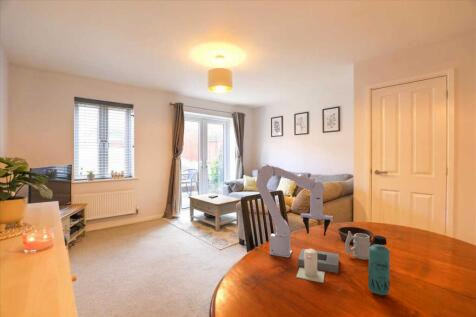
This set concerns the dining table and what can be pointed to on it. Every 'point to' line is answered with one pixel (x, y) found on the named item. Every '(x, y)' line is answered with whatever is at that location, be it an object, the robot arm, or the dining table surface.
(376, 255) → the beverage bottle
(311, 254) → the cream strapped capsule
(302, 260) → the holder
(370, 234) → the dish
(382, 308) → the dining table surface
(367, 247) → the mug
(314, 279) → the mat
